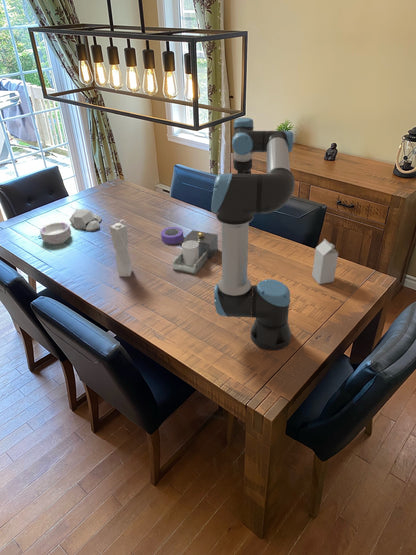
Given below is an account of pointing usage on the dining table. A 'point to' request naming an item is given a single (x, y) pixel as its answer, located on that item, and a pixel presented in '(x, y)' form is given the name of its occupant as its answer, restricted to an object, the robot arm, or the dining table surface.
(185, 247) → the white cup
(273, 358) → the dining table surface
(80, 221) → the rock
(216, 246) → the grey cabinet
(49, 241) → the paper bowls
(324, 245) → the white milk carton
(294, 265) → the dining table surface
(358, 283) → the dining table surface
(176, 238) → the tape roll
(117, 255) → the skyscraper
